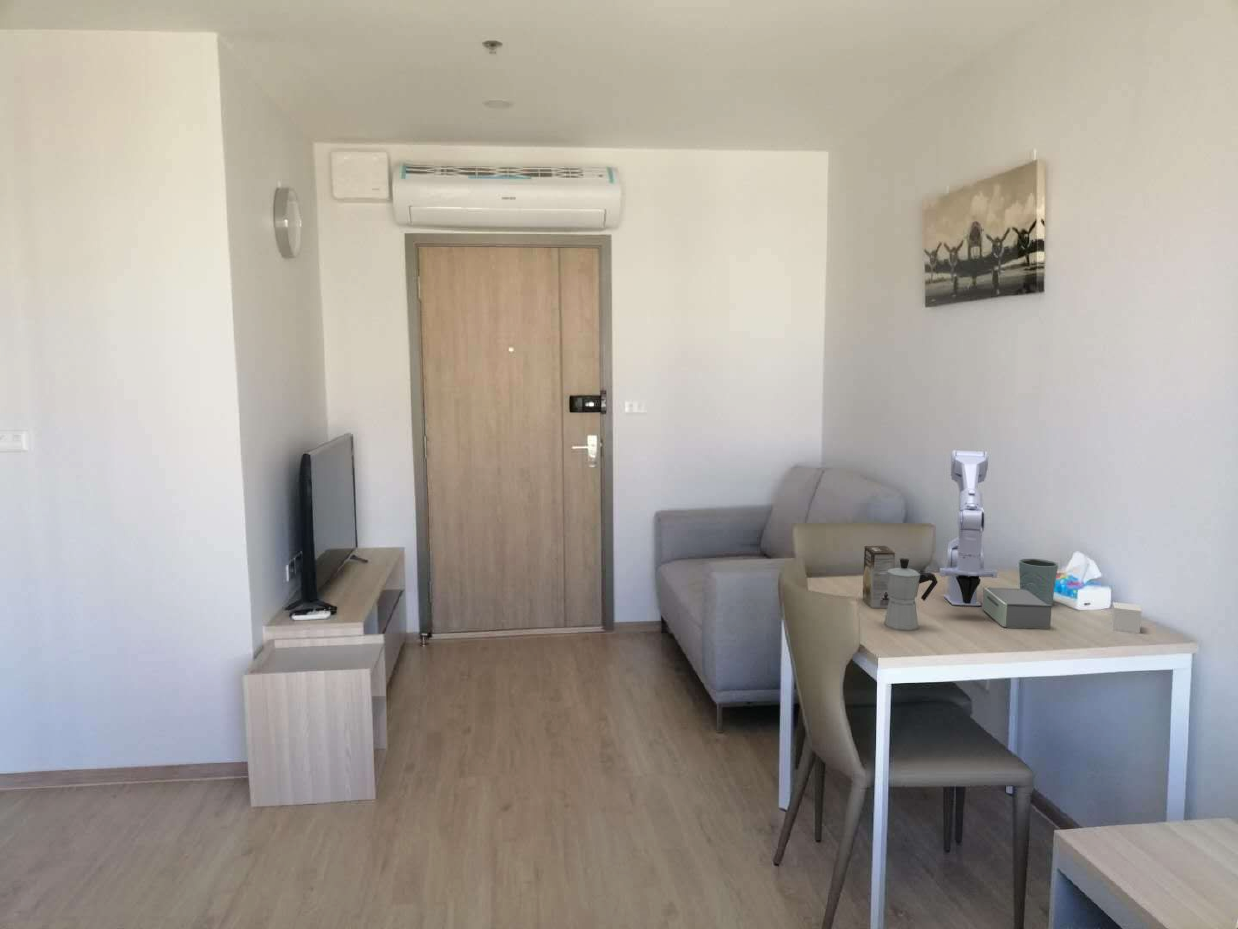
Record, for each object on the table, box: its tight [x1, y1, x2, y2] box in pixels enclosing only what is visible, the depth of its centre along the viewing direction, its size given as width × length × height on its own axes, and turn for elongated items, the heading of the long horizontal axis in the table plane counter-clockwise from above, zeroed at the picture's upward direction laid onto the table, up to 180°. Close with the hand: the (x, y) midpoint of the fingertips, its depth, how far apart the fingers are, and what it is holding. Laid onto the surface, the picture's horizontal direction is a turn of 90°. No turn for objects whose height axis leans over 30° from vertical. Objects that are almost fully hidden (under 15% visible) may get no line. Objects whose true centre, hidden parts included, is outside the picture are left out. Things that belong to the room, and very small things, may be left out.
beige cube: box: [1110, 601, 1142, 634], centre depth 218 cm, size 6×6×6 cm
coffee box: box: [862, 545, 896, 609], centre depth 239 cm, size 9×6×16 cm
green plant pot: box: [1018, 558, 1059, 606], centre depth 241 cm, size 10×10×12 cm
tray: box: [981, 587, 1007, 628], centre depth 225 cm, size 16×11×6 cm
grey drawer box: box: [986, 587, 1053, 630], centre depth 225 cm, size 16×11×6 cm
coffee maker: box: [879, 557, 939, 632], centre depth 218 cm, size 15×9×18 cm, turn 82°
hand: (966, 602), depth 227 cm, fingers closed
